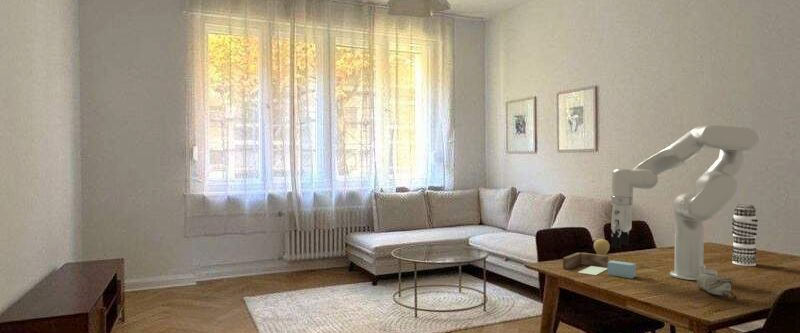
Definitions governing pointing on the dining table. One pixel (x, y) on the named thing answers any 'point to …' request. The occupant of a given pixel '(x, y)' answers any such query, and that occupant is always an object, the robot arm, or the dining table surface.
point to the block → (622, 269)
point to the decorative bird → (715, 285)
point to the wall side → (594, 259)
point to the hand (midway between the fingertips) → (619, 245)
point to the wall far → (572, 261)
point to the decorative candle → (744, 235)
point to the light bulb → (601, 246)
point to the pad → (593, 270)
